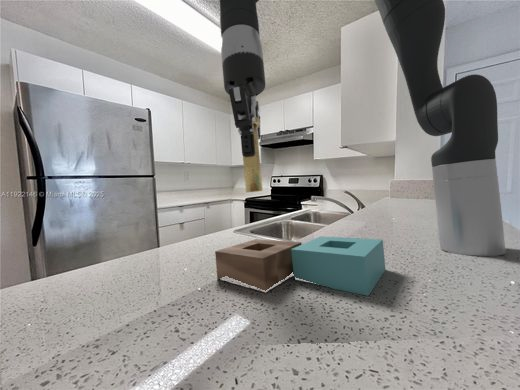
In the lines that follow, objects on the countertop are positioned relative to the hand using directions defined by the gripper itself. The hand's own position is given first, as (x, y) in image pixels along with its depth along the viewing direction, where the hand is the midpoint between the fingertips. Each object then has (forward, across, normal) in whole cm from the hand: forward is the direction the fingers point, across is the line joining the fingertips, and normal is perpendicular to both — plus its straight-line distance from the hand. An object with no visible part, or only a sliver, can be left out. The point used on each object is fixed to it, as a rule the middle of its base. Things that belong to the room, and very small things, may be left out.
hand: (251, 157), depth 39 cm
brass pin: (+6, 0, 0) cm, 6 cm away
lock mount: (+21, 0, 0) cm, 21 cm away
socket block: (+21, -1, -13) cm, 25 cm away
